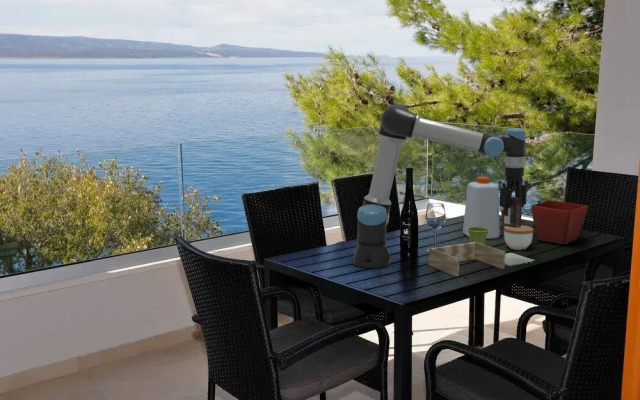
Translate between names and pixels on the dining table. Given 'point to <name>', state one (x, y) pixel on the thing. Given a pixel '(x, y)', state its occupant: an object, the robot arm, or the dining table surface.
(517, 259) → the plate
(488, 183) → the plastic bottle
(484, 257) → the wooden u-shaped frame
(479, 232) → the plant pot
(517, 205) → the box
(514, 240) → the lidded bowl
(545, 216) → the plant pot
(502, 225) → the disposable coffee cup
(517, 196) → the robot arm
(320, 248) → the dining table surface
